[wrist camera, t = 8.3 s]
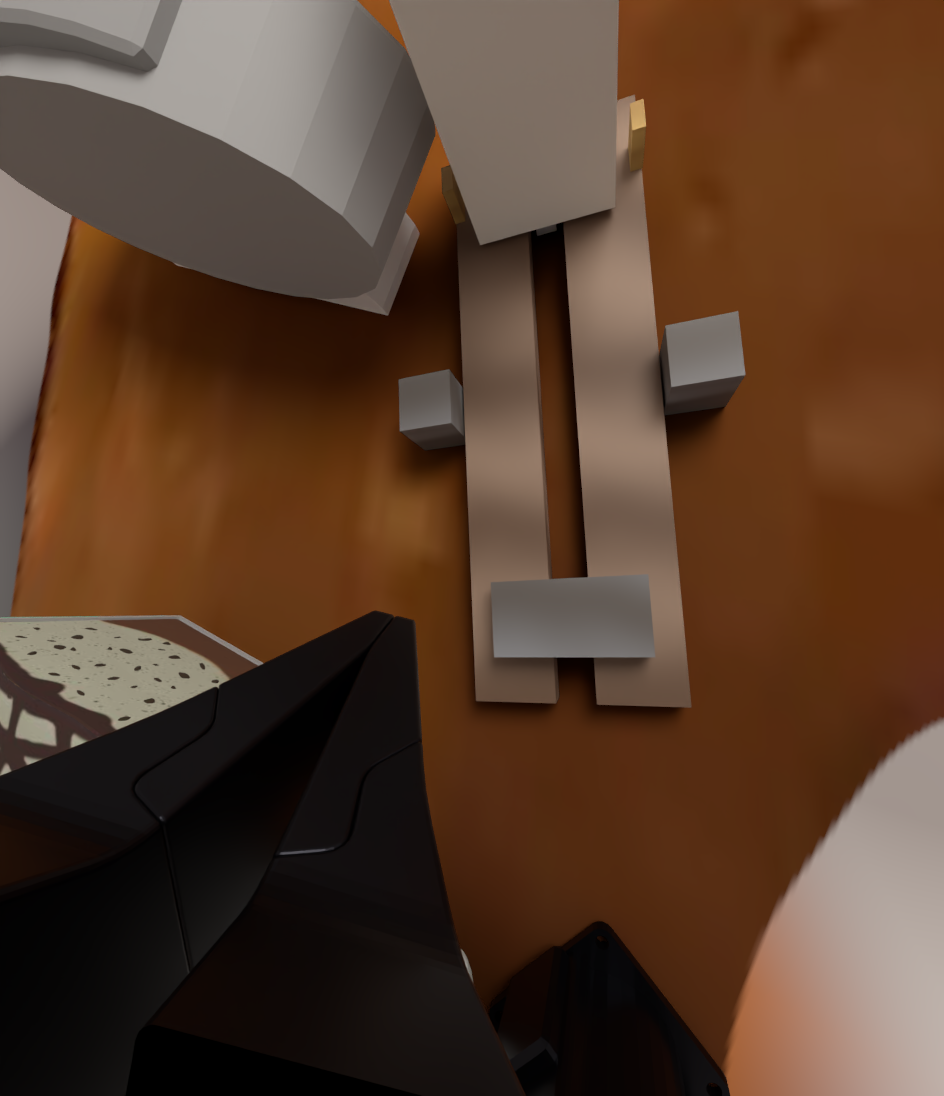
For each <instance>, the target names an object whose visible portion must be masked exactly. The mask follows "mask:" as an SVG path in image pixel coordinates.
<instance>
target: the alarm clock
mask: <svg viewBox="0 0 944 1096" xmlns="http://www.w3.org/2000/svg"><path fill="white" fill-rule="evenodd" d="M434 137H435V125H434V120H433V117H432V115H431V112H430V109H429V107H428V104H427V101H426V98H425V96H424V93H423V90H422V88H421V85H420V82H419V80H418V77H417V74H416V72H415V69H414V66H413V64H412V61H411V58H410V57H409V55H408V53H407V51H406V50H405V48H404V47H403V46H402V45H401V44H400V43H399V42H398V41H397V40H396V39H395V38H394V37H393V36H392V35H391V34H390V33H389V32H388V31H387V30H386V29H385V28H384V27H383V26H382V25H381V24H380V23H379V22H378V21H377V20H376V19H375V18H374V17H373V16H372V15H371V14H370V13H369V12H368V11H367V10H366V9H365V8H364V7H363V6H362V5H361V4H360V3H359V2H358V1H357V0H0V169H2V170H3V171H4V172H6V173H7V174H8V175H10V176H11V177H12V178H14V179H15V180H16V181H17V182H19V183H20V184H22V185H23V186H25V187H26V188H28V189H30V190H31V191H33V192H34V193H36V194H37V195H39V196H41V197H42V198H44V199H45V200H47V201H49V202H50V203H52V204H53V205H55V206H57V207H58V208H60V209H62V210H64V211H65V212H67V213H69V214H71V215H73V216H75V217H76V218H78V219H80V220H82V221H84V222H86V223H87V224H89V225H91V226H93V227H95V228H97V229H99V230H101V231H103V232H105V233H107V234H109V235H112V236H114V237H116V238H118V239H120V240H122V241H124V242H126V243H128V244H131V245H133V246H135V247H137V248H140V249H142V250H144V251H147V252H149V253H152V254H154V255H157V256H159V257H161V258H164V259H166V260H169V261H171V262H173V263H174V264H176V265H177V266H181V267H185V268H189V269H193V270H196V271H199V272H202V273H205V274H208V275H211V276H214V277H216V278H220V279H223V280H227V281H231V282H234V283H238V284H241V285H245V286H249V287H252V288H256V289H260V290H265V291H270V292H275V293H280V294H285V295H290V296H297V297H308V298H316V299H320V300H324V301H328V302H333V303H337V304H341V305H345V306H349V307H354V308H358V309H362V310H366V311H371V312H375V313H379V314H383V315H387V316H388V315H389V312H390V309H391V307H392V304H393V302H394V299H395V296H396V294H397V291H398V289H399V286H400V284H401V281H402V278H403V276H404V273H405V271H406V268H407V265H408V263H409V260H410V258H411V255H412V253H413V250H414V247H415V245H416V242H417V240H418V237H419V234H420V233H419V231H418V229H417V227H416V225H415V224H414V223H413V221H412V220H411V219H410V217H409V216H408V215H407V214H406V209H407V207H408V204H409V202H410V199H411V197H412V194H413V191H414V189H415V186H416V184H417V181H418V178H419V176H420V173H421V171H422V168H423V165H424V163H425V160H426V158H427V155H428V152H429V150H430V147H431V145H432V142H433V139H434Z"/></svg>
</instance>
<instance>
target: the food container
mask: <svg viewBox="0 0 944 1096" xmlns="http://www.w3.org/2000/svg"><path fill="white" fill-rule="evenodd" d="M261 664H263V663H262V662H261V661H259V660H257V659H255V658H254V657H252V656H250V655H248V654H247V653H245V652H243V651H241V650H240V649H238V648H236V647H234V646H233V645H231V644H229V643H227V642H226V641H224V640H222V639H220V638H219V637H217V636H215V635H213V634H212V633H210V632H208V631H206V630H205V629H203V628H201V627H199V626H198V625H196V624H194V623H192V622H191V621H189V620H187V619H185V618H184V617H182V616H180V615H161V616H68V617H0V775H3V774H6V773H8V772H11V771H13V770H16V769H18V768H21V767H23V766H26V765H29V764H31V763H34V762H36V761H39V760H41V759H44V758H46V757H49V756H51V755H54V754H57V753H59V752H62V751H64V750H67V749H69V748H72V747H74V746H77V745H79V744H82V743H85V742H87V741H90V740H92V739H95V738H97V737H100V736H102V735H105V734H107V733H110V732H112V731H115V730H117V729H120V728H122V727H125V726H127V725H130V724H132V723H134V722H137V721H139V720H142V719H144V718H147V717H149V716H151V715H154V714H156V713H159V712H161V711H163V710H165V709H167V708H170V707H172V706H174V705H176V704H178V703H181V702H183V701H185V700H187V699H189V698H192V697H194V696H196V695H198V694H200V693H202V692H204V691H206V690H208V689H211V688H213V687H218V688H219V685H220V684H221V683H224V682H226V681H228V680H230V679H232V678H234V677H236V676H238V675H240V674H242V673H244V672H247V671H249V670H251V669H253V668H255V667H257V666H259V665H261Z"/></svg>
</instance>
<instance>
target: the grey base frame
mask: <svg viewBox="0 0 944 1096" xmlns="http://www.w3.org/2000/svg"><path fill="white" fill-rule="evenodd" d="M645 132H646V121H645V110H644V100H643V99H642V100H639V101H636V102H635V95H632V96H629V97H626V98H623V99H621V100H618V101H617V131H616V194H615V208H611V209H607V210H604V211H600V212H597V213H593V214H590V215H586V216H582V217H579V218H575V219H572V220H568V221H565V222H563V226H564V240H565V254H566V269H567V283H568V297H569V312H570V326H571V340H572V354H573V369H574V383H575V397H576V412H577V426H578V440H579V455H580V469H581V483H582V497H583V512H584V526H585V540H586V555H587V569H588V577H583V578H564V579H552V568H551V552H550V536H549V519H548V503H547V486H546V470H545V454H544V437H543V421H542V404H541V388H540V371H539V355H538V339H537V322H536V306H535V289H534V273H533V257H532V240H531V231H529V232H526V233H522V234H518V235H515V236H511V237H508V238H504V239H501V240H497V241H493V242H490V243H486V244H483V245H480V243H479V241H478V238H477V235H476V233H475V230H474V227H473V225H472V222H471V219H470V217H469V214H468V211H467V209H466V206H465V203H464V200H463V198H462V195H461V192H460V190H459V187H458V184H457V182H456V179H455V176H454V174H453V171H452V168H451V166H450V165H449V166H446V167H443V168H441V172H442V193H443V195H444V198H445V200H446V202H447V205H448V207H449V210H450V212H451V214H452V217H453V219H454V222H455V224H457V247H458V271H459V296H460V320H461V345H462V369H463V388H462V386H461V385H460V383H459V382H458V381H457V379H456V378H455V376H454V375H453V374H452V372H451V371H450V370H449V369H448V370H443V371H438V372H433V373H428V374H423V375H418V376H413V377H408V378H403V379H399V415H400V432H402V433H403V434H404V435H405V436H407V437H408V438H409V439H411V440H412V441H413V442H415V443H416V444H417V445H419V446H420V447H421V448H422V449H424V450H432V449H439V448H446V447H453V446H460V445H466V468H467V492H468V517H469V541H470V566H471V590H472V615H473V639H474V664H475V689H476V701H491V702H524V703H557V701H558V698H559V683H558V667H557V657H594V669H595V683H596V698H597V705H625V706H658V707H691V698H690V687H689V677H688V666H687V655H686V644H685V633H684V623H683V612H682V601H681V590H680V579H679V569H678V558H677V547H676V536H675V525H674V515H673V504H672V493H671V482H670V471H669V461H668V450H667V439H666V428H665V418H664V415H671V414H678V413H685V412H692V411H699V410H705V409H712V408H719V407H725V406H726V405H727V403H728V402H729V400H730V399H731V397H732V395H733V394H734V392H735V391H736V389H737V387H738V386H739V384H740V383H741V381H742V379H743V378H744V376H745V368H744V359H743V350H742V342H741V333H740V324H739V316H738V311H737V312H732V313H727V314H722V315H717V316H712V317H707V318H702V319H697V320H692V321H687V322H682V323H677V324H672V325H667V326H665V331H664V335H663V340H662V345H661V349H660V354H659V353H658V342H657V331H656V320H655V310H654V299H653V288H652V277H651V266H650V256H649V245H648V234H647V223H646V212H645V202H644V191H643V180H642V169H641V168H643V158H644V145H645Z"/></svg>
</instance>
